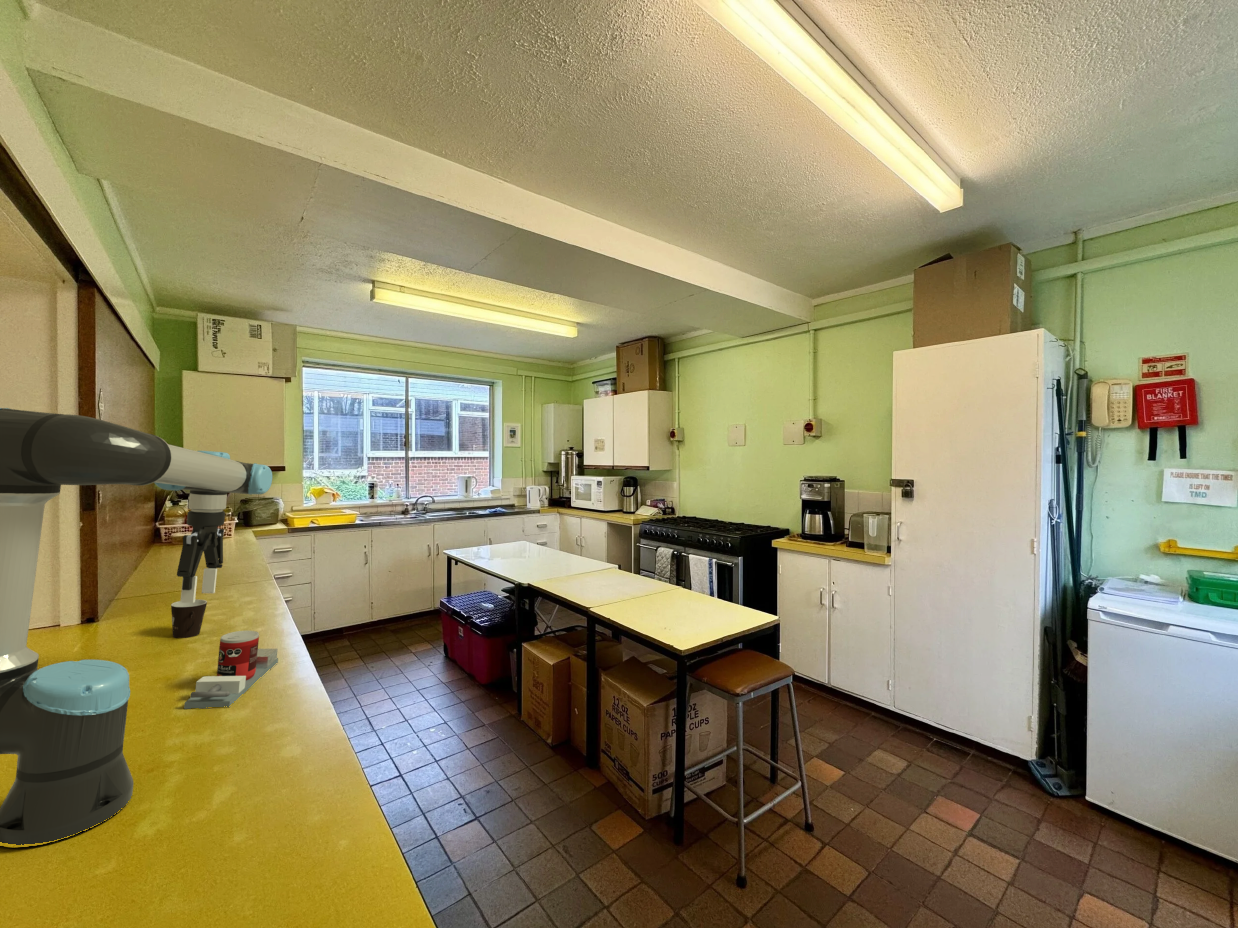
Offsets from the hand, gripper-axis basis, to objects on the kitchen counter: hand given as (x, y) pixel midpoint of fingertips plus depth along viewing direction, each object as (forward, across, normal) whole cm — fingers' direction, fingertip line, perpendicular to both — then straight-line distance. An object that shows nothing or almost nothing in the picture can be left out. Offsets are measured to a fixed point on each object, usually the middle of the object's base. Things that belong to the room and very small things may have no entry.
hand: (198, 597), depth 127 cm
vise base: (+21, +4, +12) cm, 25 cm away
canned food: (+20, +3, +12) cm, 23 cm away
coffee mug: (+22, -32, -18) cm, 43 cm away
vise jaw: (+20, -6, +12) cm, 24 cm away
